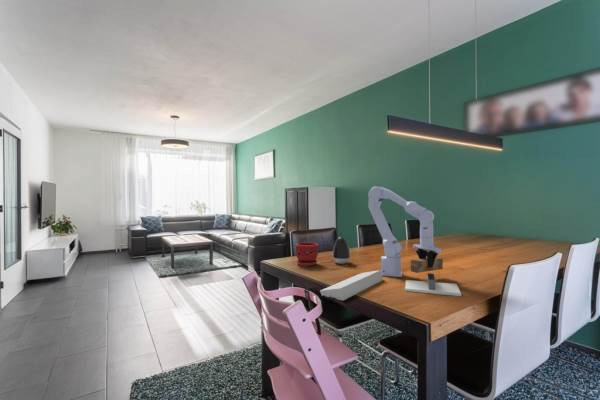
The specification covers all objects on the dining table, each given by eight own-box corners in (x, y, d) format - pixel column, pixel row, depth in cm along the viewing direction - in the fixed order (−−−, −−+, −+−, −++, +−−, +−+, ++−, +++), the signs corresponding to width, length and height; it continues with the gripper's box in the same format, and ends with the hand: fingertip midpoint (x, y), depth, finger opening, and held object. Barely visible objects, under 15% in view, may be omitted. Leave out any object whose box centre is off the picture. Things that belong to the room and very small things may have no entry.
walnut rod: (416, 272, 130) (416, 261, 130) (410, 271, 133) (410, 260, 133) (442, 269, 137) (442, 258, 136) (436, 267, 140) (436, 256, 140)
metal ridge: (428, 289, 117) (428, 279, 117) (427, 282, 126) (427, 273, 126) (435, 290, 116) (435, 279, 116) (433, 283, 125) (433, 273, 125)
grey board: (405, 290, 119) (405, 288, 119) (405, 282, 131) (405, 279, 131) (461, 296, 111) (461, 293, 111) (456, 286, 123) (456, 284, 123)
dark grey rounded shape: (334, 265, 166) (333, 238, 166) (331, 261, 176) (331, 235, 176) (352, 264, 166) (351, 237, 166) (348, 260, 177) (347, 235, 177)
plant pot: (319, 266, 163) (319, 245, 163) (295, 267, 163) (295, 245, 163) (317, 261, 176) (317, 241, 176) (295, 262, 176) (295, 242, 176)
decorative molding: (322, 303, 114) (343, 301, 108) (319, 290, 115) (340, 288, 109) (364, 282, 141) (383, 280, 134) (361, 272, 141) (380, 270, 135)
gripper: (446, 238, 130) (446, 268, 130) (420, 234, 143) (421, 262, 143) (434, 239, 127) (435, 270, 127) (409, 235, 140) (410, 263, 140)
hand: (426, 266), depth 135 cm, fingers closed on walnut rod, 3 cm apart
